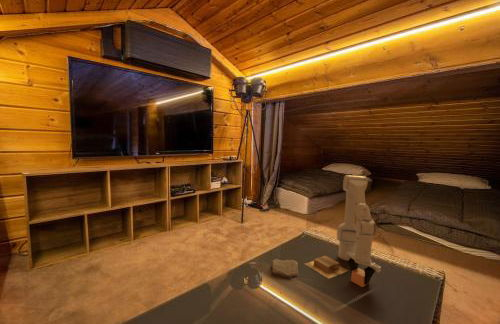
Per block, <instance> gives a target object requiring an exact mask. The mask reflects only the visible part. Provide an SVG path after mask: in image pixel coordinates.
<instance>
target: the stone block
mask: <svg viewBox="0 0 500 324" xmlns="http://www.w3.org/2000/svg"><path fill="white" fill-rule="evenodd" d="M298 266H299V264H298V262H297V261H296V260H294V259H285V260H282V259H278V258H274V259H273V260H272V263H271V269H272V274H274V275H278V276H282V277H285V278H290V279H294V277H298V276H299V268H298Z"/></svg>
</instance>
